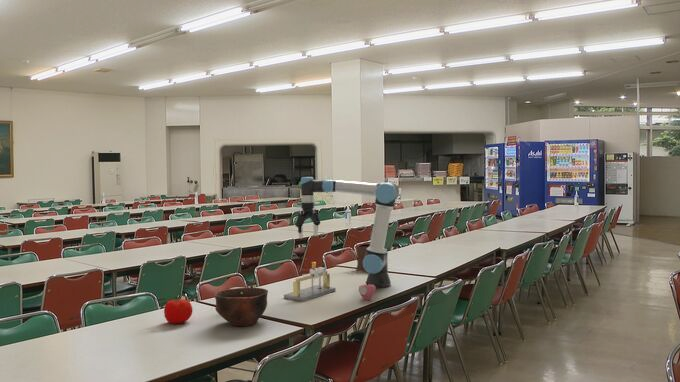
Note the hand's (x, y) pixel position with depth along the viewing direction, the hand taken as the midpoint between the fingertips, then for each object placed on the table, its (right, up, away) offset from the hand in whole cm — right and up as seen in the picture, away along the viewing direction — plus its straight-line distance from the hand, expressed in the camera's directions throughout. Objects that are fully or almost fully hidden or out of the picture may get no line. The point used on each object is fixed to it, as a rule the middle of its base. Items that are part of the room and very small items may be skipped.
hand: (308, 236), depth 334 cm
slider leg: (+4, -29, -17) cm, 34 cm away
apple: (+34, -32, -33) cm, 57 cm away
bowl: (-27, -35, -74) cm, 86 cm away
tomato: (-58, -35, -71) cm, 98 cm away
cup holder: (+37, -28, +58) cm, 75 cm away
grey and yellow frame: (+2, -32, -18) cm, 36 cm away
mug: (-33, -34, -46) cm, 66 cm away
